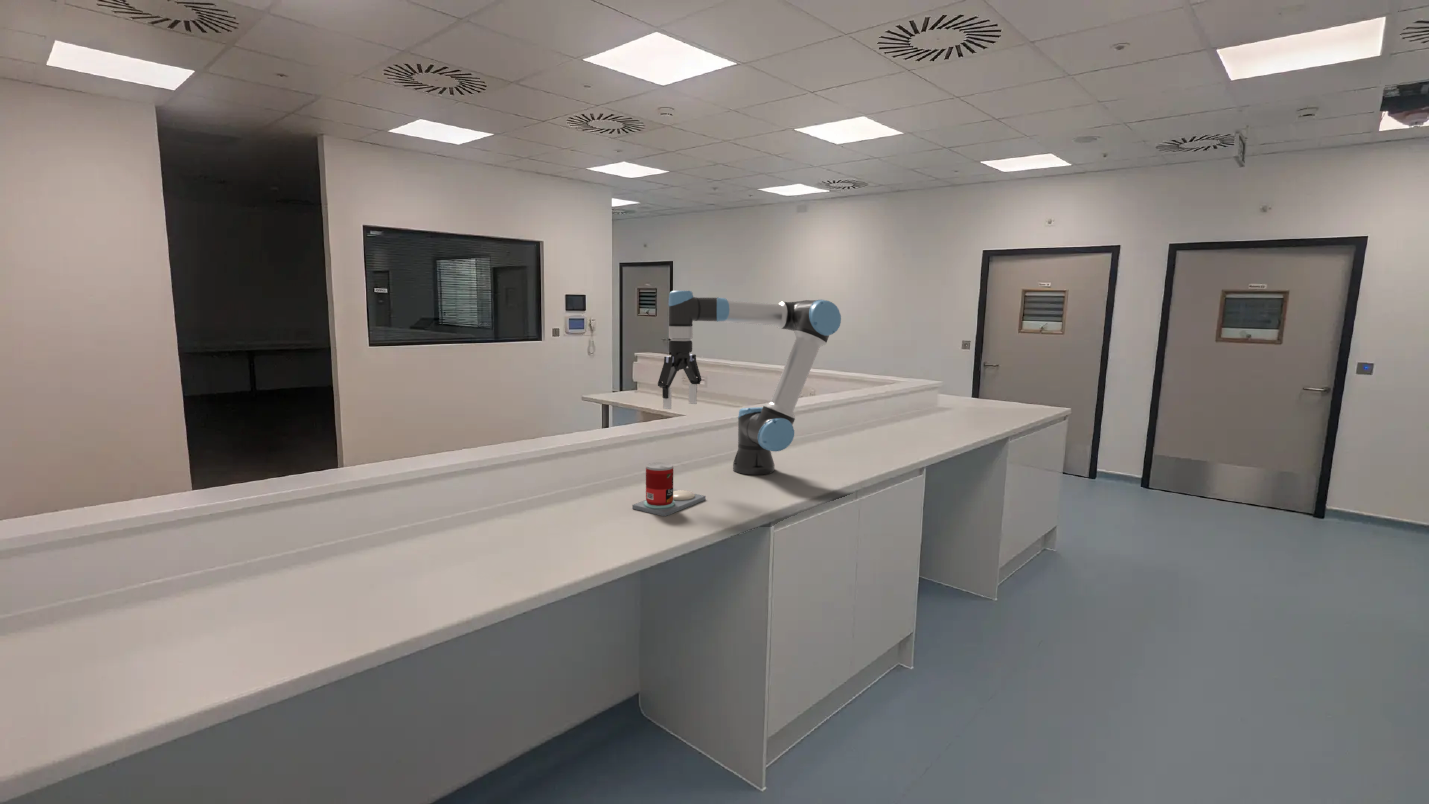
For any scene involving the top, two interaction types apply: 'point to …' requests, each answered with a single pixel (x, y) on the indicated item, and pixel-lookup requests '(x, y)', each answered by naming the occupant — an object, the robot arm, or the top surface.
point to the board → (681, 502)
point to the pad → (659, 506)
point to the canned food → (659, 483)
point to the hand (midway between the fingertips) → (680, 406)
